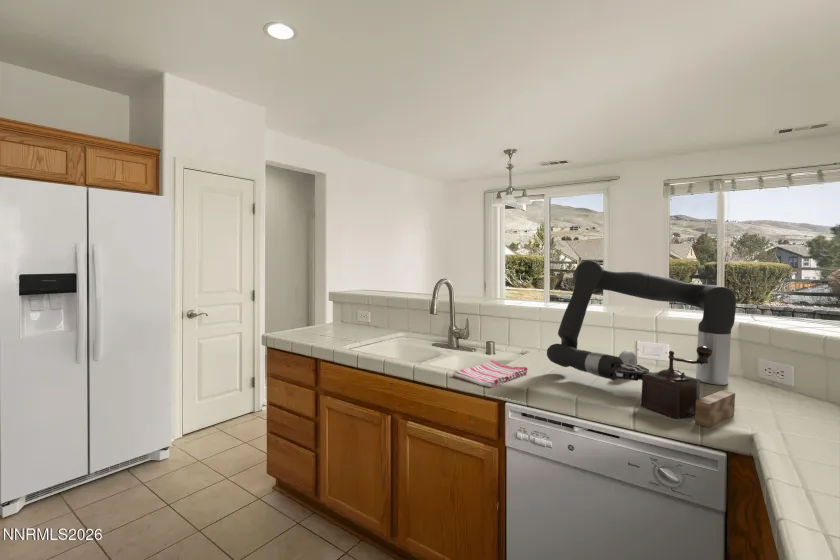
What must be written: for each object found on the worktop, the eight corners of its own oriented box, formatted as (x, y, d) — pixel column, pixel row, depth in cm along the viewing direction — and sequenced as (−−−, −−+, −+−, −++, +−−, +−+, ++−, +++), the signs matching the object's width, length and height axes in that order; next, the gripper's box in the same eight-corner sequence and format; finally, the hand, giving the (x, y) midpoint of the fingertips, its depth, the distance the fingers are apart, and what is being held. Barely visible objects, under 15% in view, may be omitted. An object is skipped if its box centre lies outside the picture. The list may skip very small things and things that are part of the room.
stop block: (721, 411, 114) (722, 390, 114) (734, 414, 112) (735, 393, 111) (694, 423, 105) (696, 400, 105) (708, 427, 103) (709, 404, 102)
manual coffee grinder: (678, 420, 107) (682, 351, 106) (639, 406, 117) (642, 343, 116) (713, 411, 114) (717, 347, 113) (673, 399, 124) (676, 339, 123)
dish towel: (529, 376, 148) (529, 366, 148) (491, 389, 132) (491, 379, 131) (490, 366, 160) (490, 357, 160) (450, 378, 144) (450, 368, 143)
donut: (623, 381, 141) (624, 352, 141) (613, 378, 144) (614, 350, 144) (638, 377, 147) (639, 349, 147) (629, 374, 150) (630, 347, 149)
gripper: (591, 356, 131) (647, 369, 116) (615, 351, 138) (670, 363, 124) (590, 380, 131) (646, 395, 117) (614, 373, 139) (669, 387, 124)
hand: (658, 378), depth 120 cm, fingers closed
